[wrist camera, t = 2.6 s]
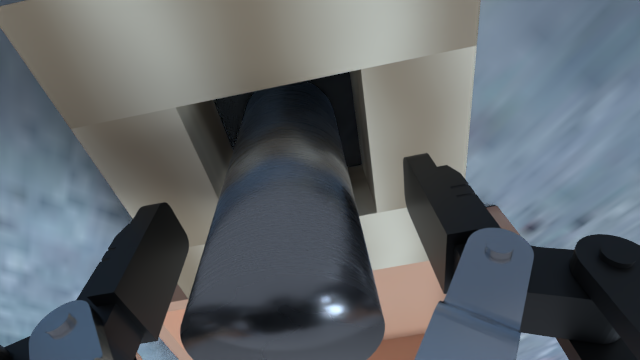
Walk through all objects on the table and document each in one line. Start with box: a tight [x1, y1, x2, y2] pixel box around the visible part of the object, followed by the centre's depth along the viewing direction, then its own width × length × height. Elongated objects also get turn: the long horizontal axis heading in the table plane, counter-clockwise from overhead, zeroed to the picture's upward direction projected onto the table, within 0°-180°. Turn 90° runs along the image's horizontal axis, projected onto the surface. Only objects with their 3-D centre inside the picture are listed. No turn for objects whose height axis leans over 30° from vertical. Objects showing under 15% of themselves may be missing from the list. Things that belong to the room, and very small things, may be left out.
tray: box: [159, 206, 520, 360], centre depth 23 cm, size 22×13×3 cm, turn 100°
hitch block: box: [0, 0, 481, 300], centre depth 15 cm, size 14×14×4 cm
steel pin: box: [180, 81, 385, 360], centre depth 12 cm, size 4×4×11 cm
